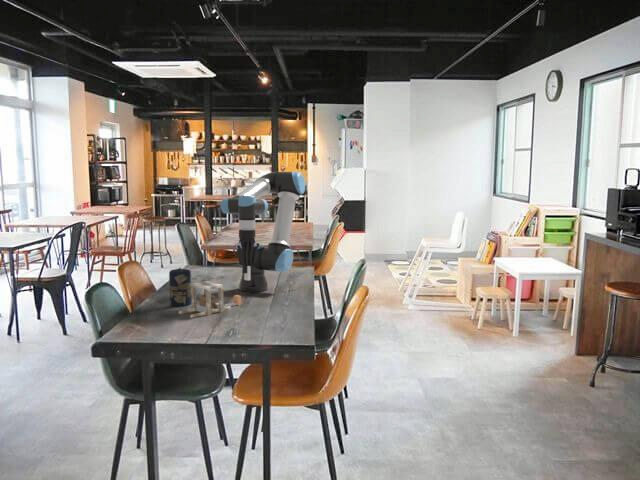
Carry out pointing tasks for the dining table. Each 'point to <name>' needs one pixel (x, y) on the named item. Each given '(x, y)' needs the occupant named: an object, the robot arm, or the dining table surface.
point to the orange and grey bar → (203, 309)
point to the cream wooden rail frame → (207, 291)
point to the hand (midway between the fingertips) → (247, 279)
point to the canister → (180, 287)
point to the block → (203, 301)
